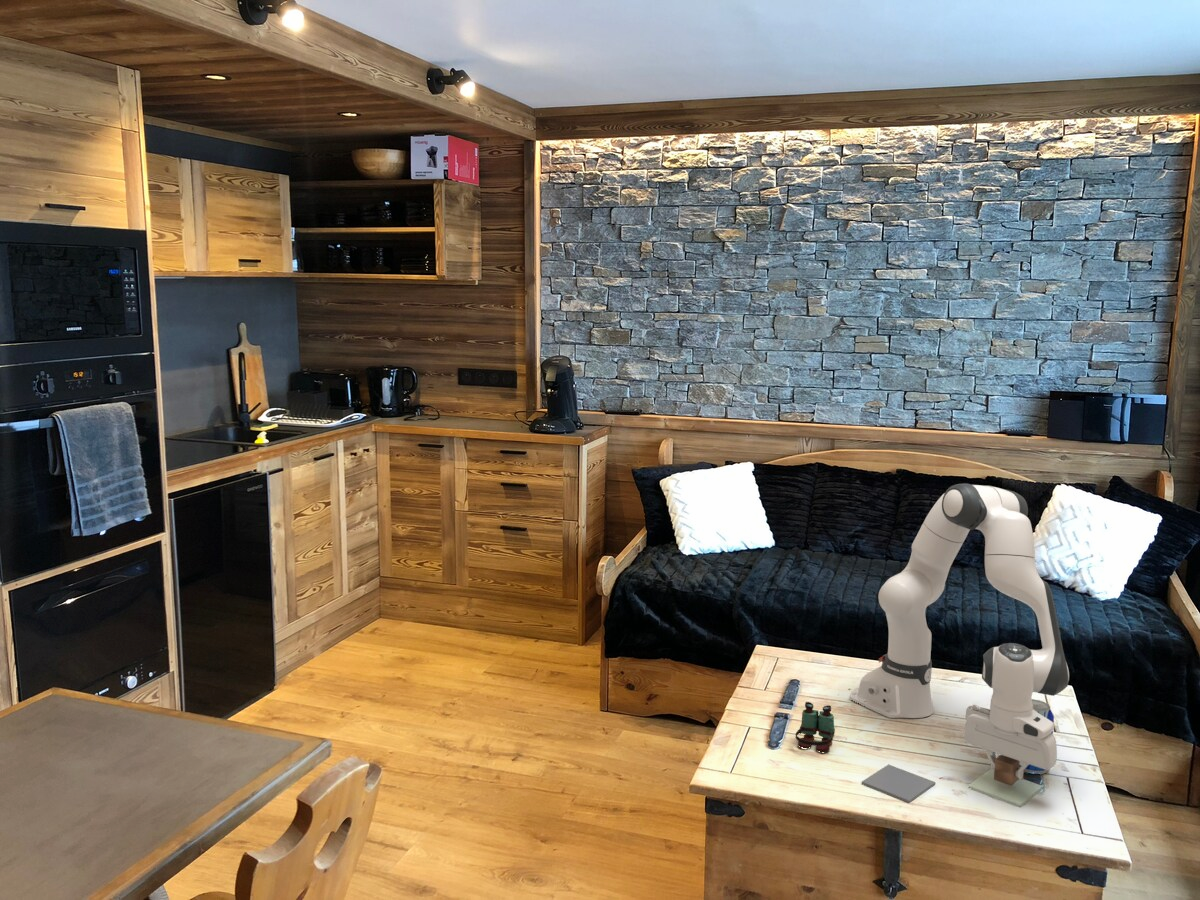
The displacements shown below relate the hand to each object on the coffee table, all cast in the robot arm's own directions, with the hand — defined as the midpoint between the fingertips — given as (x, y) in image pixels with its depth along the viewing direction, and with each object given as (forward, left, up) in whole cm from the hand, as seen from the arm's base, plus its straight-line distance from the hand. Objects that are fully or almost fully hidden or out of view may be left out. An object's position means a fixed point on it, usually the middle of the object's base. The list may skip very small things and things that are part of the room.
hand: (1006, 773), depth 222 cm
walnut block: (0, 0, -2) cm, 2 cm away
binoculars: (-42, -14, -4) cm, 45 cm away
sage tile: (0, 0, -4) cm, 4 cm away
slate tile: (-18, -16, -4) cm, 24 cm away
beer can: (0, +14, -4) cm, 14 cm away
